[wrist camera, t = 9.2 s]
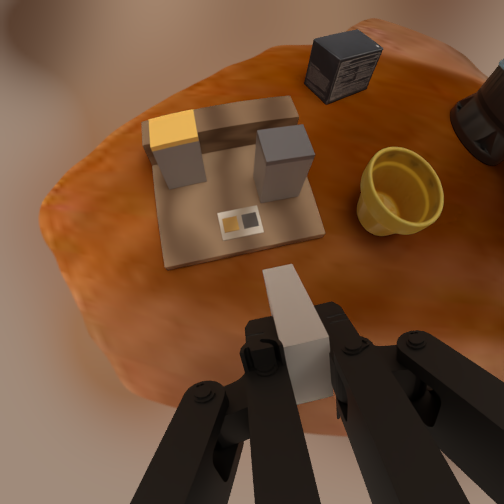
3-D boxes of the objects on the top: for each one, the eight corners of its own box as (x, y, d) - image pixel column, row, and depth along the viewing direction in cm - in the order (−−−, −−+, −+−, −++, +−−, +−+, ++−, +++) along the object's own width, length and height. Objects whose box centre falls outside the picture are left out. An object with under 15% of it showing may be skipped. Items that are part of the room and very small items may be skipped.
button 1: (290, 169, 39) (302, 124, 30) (298, 196, 38) (315, 154, 29) (253, 176, 39) (256, 130, 30) (260, 203, 38) (266, 161, 29)
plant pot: (360, 259, 38) (393, 237, 29) (331, 190, 41) (354, 152, 31) (418, 238, 39) (457, 214, 30) (390, 176, 42) (419, 141, 32)
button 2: (202, 156, 40) (193, 109, 30) (206, 181, 39) (197, 136, 29) (166, 164, 39) (148, 119, 30) (169, 189, 38) (150, 147, 29)
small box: (343, 68, 48) (357, 27, 38) (367, 89, 47) (386, 48, 37) (301, 82, 46) (312, 36, 36) (326, 105, 45) (342, 60, 35)
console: (283, 121, 44) (288, 93, 37) (322, 237, 39) (336, 218, 33) (152, 146, 42) (141, 119, 35) (167, 270, 37) (153, 257, 31)
